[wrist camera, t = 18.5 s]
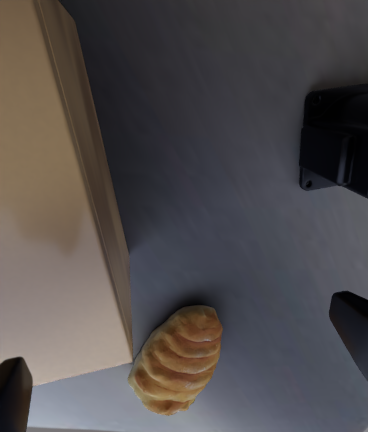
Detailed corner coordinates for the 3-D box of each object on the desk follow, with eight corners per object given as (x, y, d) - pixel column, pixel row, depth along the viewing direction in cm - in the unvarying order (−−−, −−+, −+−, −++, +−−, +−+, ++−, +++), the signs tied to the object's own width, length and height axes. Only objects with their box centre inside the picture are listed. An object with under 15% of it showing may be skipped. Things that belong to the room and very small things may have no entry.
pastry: (163, 290, 22) (171, 327, 19) (236, 306, 25) (254, 342, 21) (123, 373, 25) (124, 418, 22) (192, 381, 28) (202, 423, 24)
